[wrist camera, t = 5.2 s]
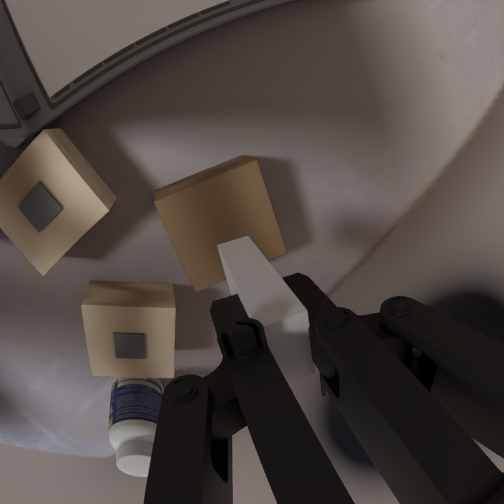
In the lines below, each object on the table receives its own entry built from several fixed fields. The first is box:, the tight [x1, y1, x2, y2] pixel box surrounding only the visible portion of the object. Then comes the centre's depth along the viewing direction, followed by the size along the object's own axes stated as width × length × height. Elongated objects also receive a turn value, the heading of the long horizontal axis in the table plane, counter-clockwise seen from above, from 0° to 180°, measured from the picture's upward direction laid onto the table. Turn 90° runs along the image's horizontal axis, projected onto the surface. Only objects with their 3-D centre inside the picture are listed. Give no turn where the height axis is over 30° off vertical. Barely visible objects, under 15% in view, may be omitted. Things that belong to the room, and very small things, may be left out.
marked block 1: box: [0, 128, 117, 276], centre depth 19 cm, size 7×7×4 cm
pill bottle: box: [109, 377, 164, 477], centre depth 24 cm, size 5×5×10 cm
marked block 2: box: [81, 280, 176, 378], centre depth 24 cm, size 7×7×4 cm
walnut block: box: [154, 155, 287, 292], centre depth 23 cm, size 7×7×4 cm
